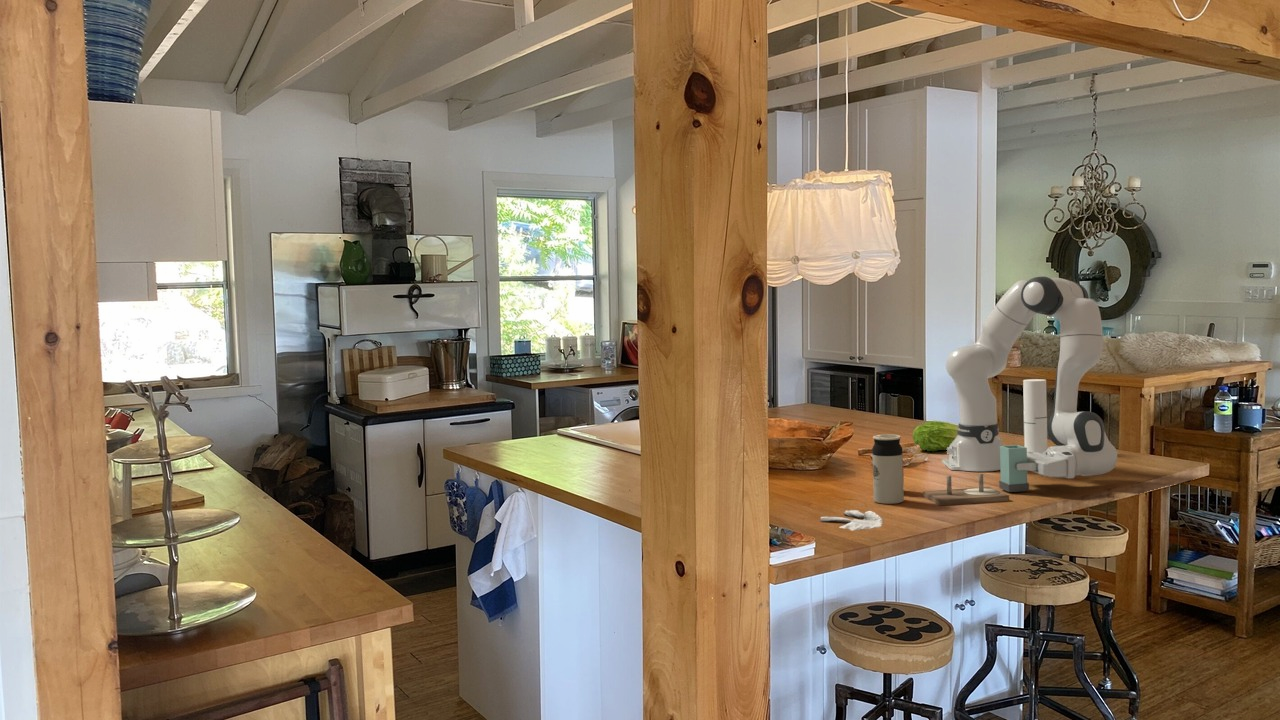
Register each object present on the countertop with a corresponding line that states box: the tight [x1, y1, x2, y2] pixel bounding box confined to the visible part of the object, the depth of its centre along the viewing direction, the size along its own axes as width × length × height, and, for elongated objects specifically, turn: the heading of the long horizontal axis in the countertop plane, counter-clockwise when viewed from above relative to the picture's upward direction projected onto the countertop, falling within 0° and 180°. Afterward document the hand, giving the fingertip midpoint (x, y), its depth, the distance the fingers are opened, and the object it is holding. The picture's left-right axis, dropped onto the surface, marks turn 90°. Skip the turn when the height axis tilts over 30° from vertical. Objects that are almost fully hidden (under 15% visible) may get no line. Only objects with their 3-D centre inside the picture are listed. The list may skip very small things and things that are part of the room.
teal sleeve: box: [998, 444, 1030, 493], centre depth 276 cm, size 6×6×12 cm
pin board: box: [923, 473, 1010, 506], centre depth 269 cm, size 12×19×6 cm, turn 95°
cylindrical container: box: [1022, 378, 1048, 453], centre depth 332 cm, size 7×7×25 cm
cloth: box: [819, 509, 884, 532], centre depth 252 cm, size 20×22×2 cm
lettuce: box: [912, 420, 959, 452], centre depth 349 cm, size 12×24×13 cm
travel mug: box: [871, 434, 905, 505], centre depth 270 cm, size 8×8×18 cm
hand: (1010, 464), depth 275 cm, fingers closed on teal sleeve, 5 cm apart
